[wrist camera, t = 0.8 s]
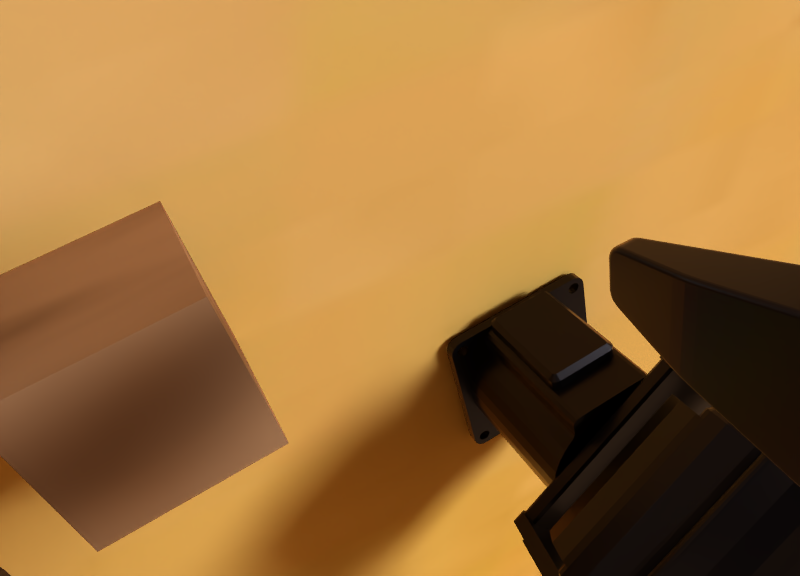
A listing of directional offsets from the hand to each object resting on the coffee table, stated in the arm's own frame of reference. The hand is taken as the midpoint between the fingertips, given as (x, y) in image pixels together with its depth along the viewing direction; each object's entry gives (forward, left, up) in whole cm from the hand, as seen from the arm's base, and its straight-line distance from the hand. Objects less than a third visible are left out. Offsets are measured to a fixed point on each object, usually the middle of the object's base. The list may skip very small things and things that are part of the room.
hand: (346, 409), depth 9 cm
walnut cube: (-5, +4, -13) cm, 14 cm away
